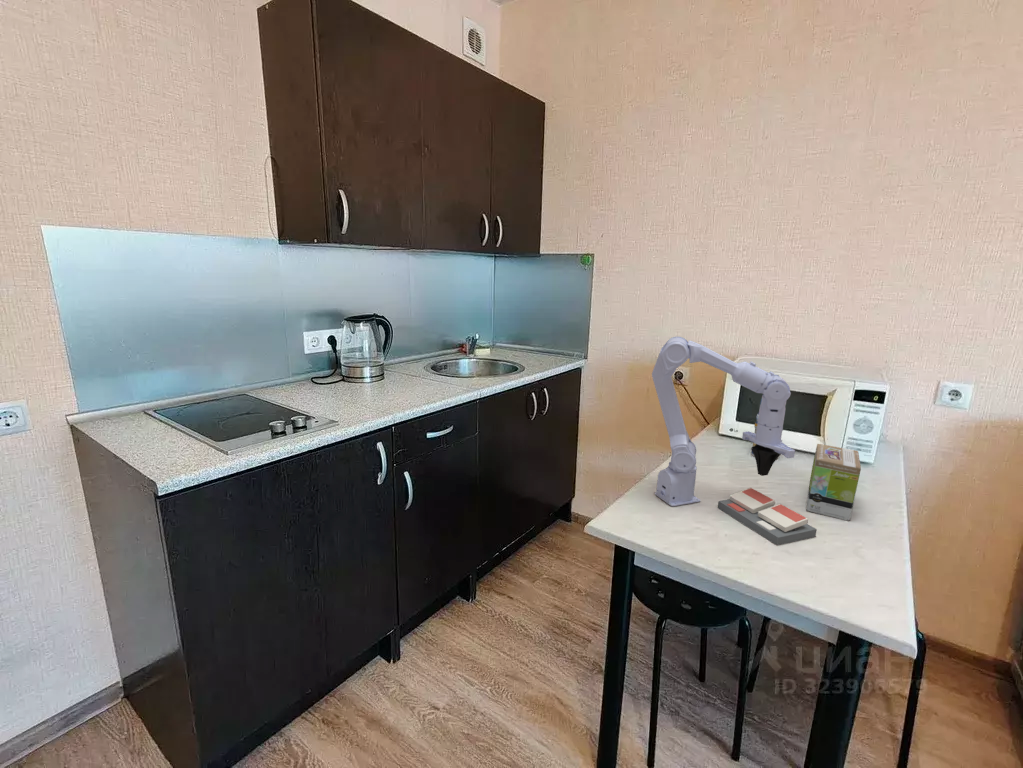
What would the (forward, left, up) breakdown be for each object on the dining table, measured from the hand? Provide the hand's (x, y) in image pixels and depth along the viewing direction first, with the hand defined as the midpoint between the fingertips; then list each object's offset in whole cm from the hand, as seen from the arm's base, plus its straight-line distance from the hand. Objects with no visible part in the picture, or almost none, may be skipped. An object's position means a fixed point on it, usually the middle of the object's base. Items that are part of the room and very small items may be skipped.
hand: (762, 474), depth 128 cm
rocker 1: (-3, 0, -7) cm, 7 cm away
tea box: (+21, -3, -10) cm, 24 cm away
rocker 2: (-3, -9, -7) cm, 12 cm away
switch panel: (-3, -5, -10) cm, 12 cm away
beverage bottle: (+33, +30, -10) cm, 45 cm away
